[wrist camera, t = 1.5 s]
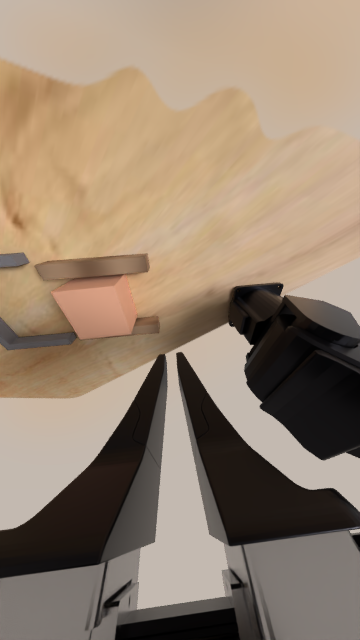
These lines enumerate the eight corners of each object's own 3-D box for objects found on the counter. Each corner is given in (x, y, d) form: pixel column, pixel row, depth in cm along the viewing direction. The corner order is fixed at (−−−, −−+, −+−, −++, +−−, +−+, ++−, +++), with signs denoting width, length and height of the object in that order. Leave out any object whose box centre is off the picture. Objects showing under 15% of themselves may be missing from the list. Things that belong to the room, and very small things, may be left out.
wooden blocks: (147, 253, 16) (145, 256, 14) (159, 324, 22) (159, 332, 20) (47, 261, 16) (34, 265, 14) (86, 331, 21) (80, 340, 20)
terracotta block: (125, 272, 17) (114, 286, 14) (137, 314, 21) (131, 334, 17) (75, 277, 17) (50, 292, 13) (96, 318, 20) (80, 339, 17)
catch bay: (23, 252, 15) (10, 255, 14) (76, 337, 22) (71, 344, 21) (-65, 259, 15) (-86, 262, 14) (16, 342, 22) (7, 350, 20)
